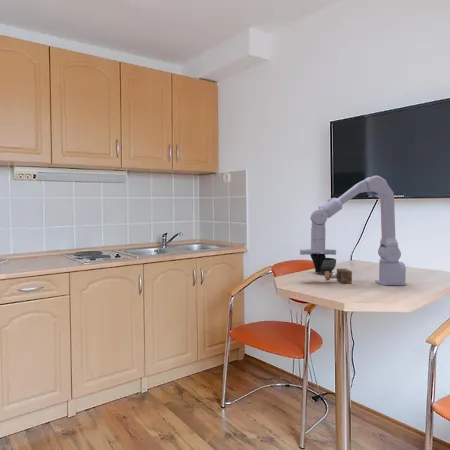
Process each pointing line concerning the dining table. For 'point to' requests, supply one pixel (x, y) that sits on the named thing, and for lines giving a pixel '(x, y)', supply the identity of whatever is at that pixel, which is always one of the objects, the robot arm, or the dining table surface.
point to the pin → (331, 275)
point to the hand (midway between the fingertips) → (317, 272)
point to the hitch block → (345, 276)
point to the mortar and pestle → (327, 265)
